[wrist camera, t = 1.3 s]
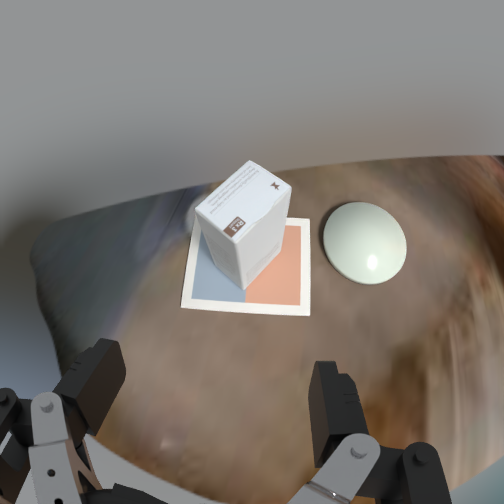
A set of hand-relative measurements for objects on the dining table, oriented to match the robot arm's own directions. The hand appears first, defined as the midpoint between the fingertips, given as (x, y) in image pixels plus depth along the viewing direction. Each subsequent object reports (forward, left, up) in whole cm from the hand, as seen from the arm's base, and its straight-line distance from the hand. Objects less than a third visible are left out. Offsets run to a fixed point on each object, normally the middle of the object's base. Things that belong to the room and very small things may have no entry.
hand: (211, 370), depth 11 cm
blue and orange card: (0, -12, -17) cm, 21 cm away
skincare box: (0, -12, -17) cm, 21 cm away
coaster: (-13, -15, -17) cm, 26 cm away
